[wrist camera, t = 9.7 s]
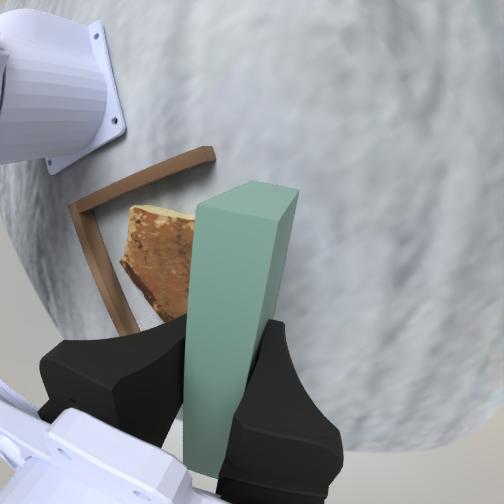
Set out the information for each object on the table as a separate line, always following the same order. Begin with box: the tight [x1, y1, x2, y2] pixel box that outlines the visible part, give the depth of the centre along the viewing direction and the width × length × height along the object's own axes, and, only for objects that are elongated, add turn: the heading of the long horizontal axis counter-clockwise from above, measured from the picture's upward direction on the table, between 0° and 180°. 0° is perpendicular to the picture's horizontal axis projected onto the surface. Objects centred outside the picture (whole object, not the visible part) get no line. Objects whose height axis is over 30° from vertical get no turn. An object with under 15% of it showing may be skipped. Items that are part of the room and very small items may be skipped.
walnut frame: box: [68, 146, 216, 337], centre depth 20 cm, size 16×11×2 cm
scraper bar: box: [183, 181, 299, 479], centre depth 12 cm, size 12×2×6 cm, turn 171°
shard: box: [120, 204, 196, 323], centre depth 20 cm, size 11×8×2 cm
